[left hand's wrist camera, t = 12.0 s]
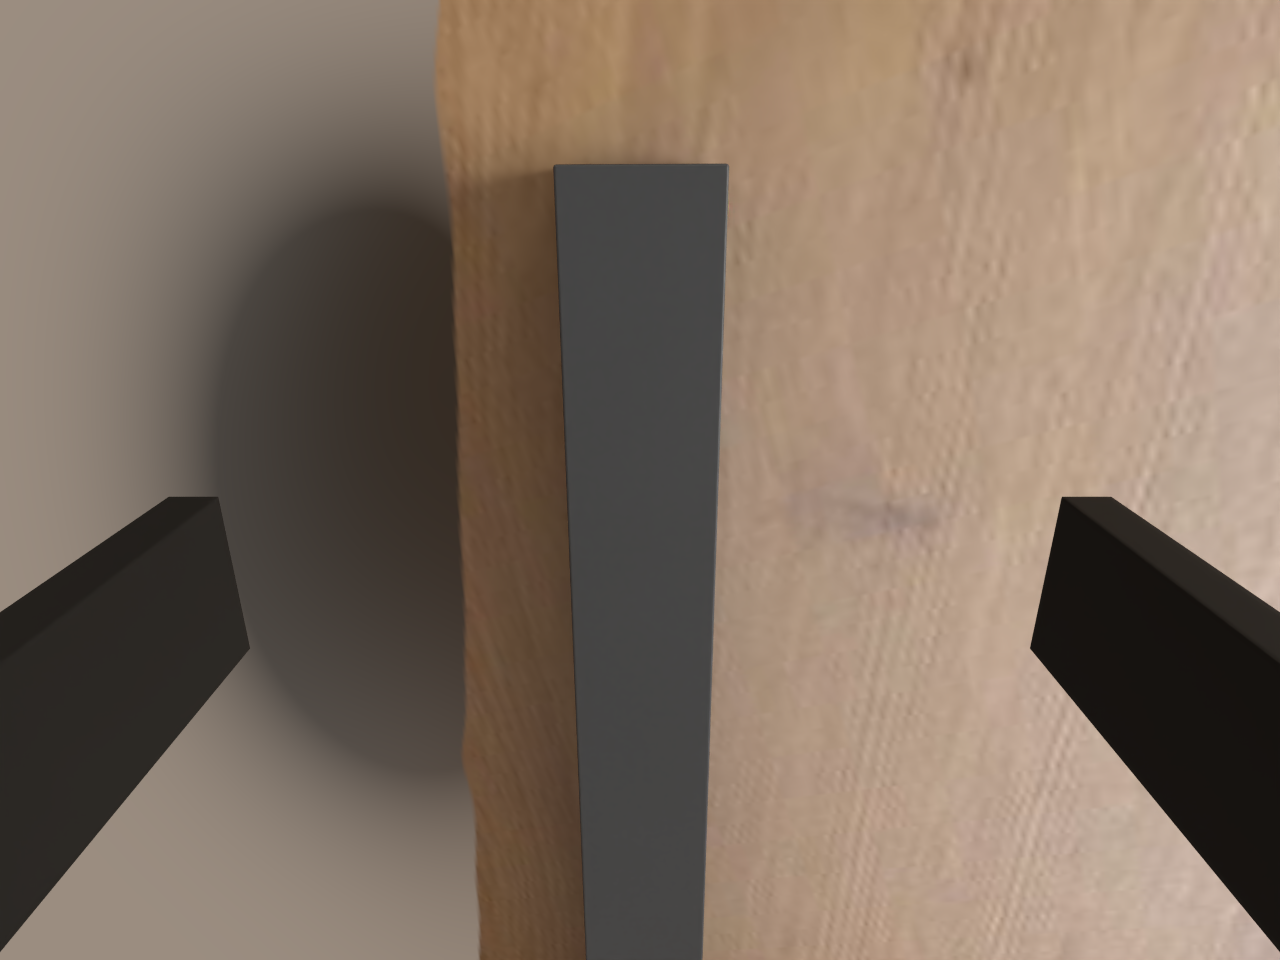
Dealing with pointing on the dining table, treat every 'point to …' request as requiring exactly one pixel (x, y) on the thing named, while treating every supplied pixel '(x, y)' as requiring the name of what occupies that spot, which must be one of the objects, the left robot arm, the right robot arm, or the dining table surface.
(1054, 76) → the dining table surface
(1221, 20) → the dining table surface
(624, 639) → the beam
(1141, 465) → the dining table surface
